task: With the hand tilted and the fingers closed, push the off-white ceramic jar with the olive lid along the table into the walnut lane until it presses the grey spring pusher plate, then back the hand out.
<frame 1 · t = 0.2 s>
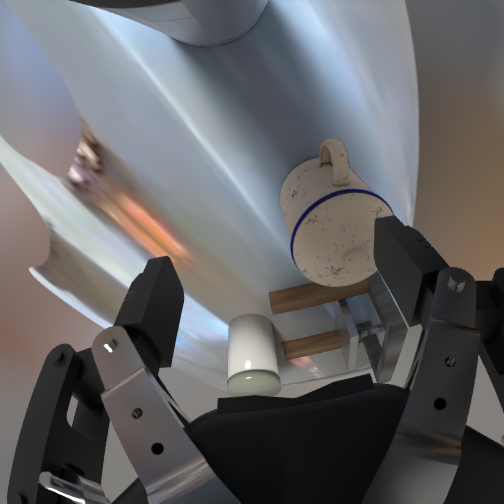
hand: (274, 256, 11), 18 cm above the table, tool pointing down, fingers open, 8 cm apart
pusher: (362, 328, 36), point 4 cm above the table, slide at 0.0 cm
lane: (321, 313, 40), on the table
teacup with lid: (319, 181, 28), on the table
jar: (250, 328, 41), on the table
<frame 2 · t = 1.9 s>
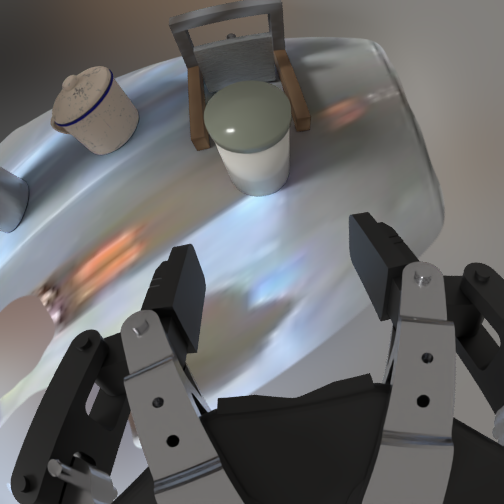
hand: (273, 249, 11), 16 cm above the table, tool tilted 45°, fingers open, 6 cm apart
pusher: (234, 52, 29), point 4 cm above the table, slide at 0.0 cm
lane: (244, 98, 32), on the table
teacup with lid: (105, 132, 34), on the table
jar: (259, 169, 30), on the table
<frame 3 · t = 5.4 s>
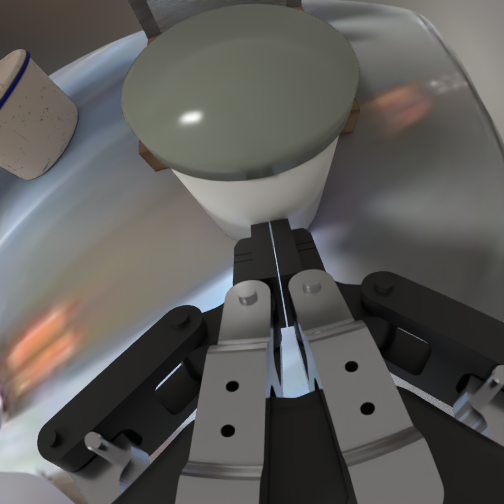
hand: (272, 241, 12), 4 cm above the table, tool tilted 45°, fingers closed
pusher: (221, 7, 15), point 4 cm above the table, slide at 0.0 cm
lane: (238, 78, 18), on the table
teacup with lid: (38, 145, 20), on the table
jar: (263, 193, 16), on the table, touching gripper
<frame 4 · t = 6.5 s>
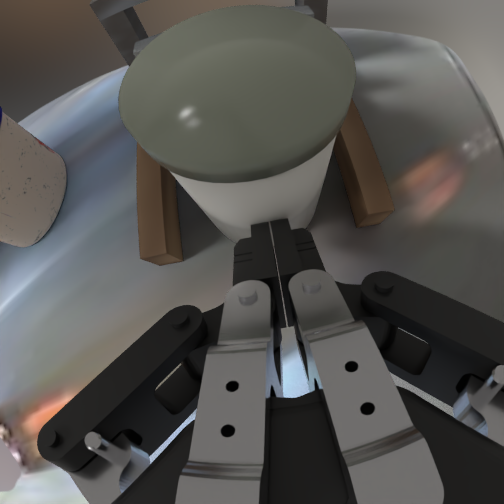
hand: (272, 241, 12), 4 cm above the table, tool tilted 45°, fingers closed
pusher: (228, 49, 14), point 4 cm above the table, slide at 0.0 cm
lane: (250, 144, 17), on the table
teacup with lid: (27, 203, 19), on the table
jar: (261, 194, 16), on the table, touching gripper
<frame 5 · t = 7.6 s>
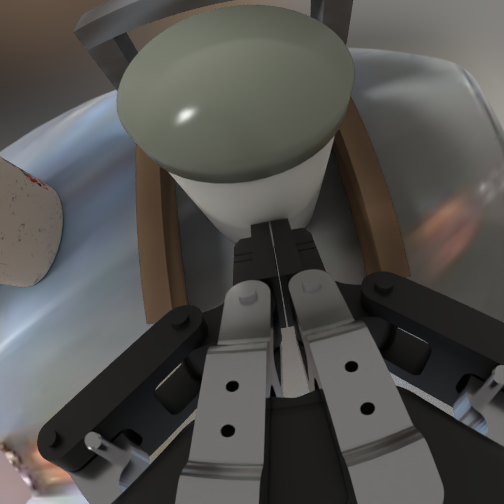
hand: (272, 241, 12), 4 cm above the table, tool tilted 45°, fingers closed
lane: (258, 191, 16), on the table
teacup with lid: (23, 237, 18), on the table
jar: (260, 194, 16), on the table, touching gripper, pusher
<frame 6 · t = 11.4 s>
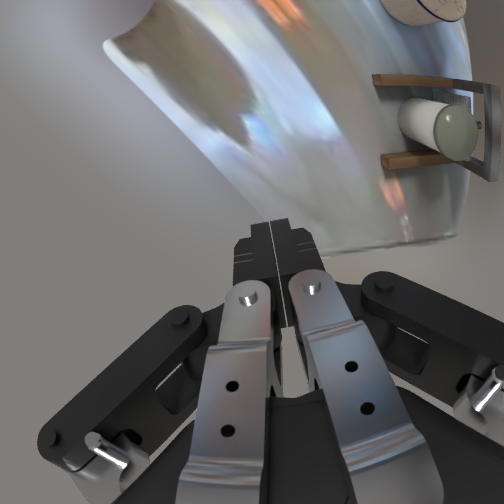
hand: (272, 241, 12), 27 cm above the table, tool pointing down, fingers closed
pusher: (463, 123, 28), point 4 cm above the table, slide at 1.2 cm
lane: (416, 118, 32), on the table
jar: (415, 118, 32), on the table
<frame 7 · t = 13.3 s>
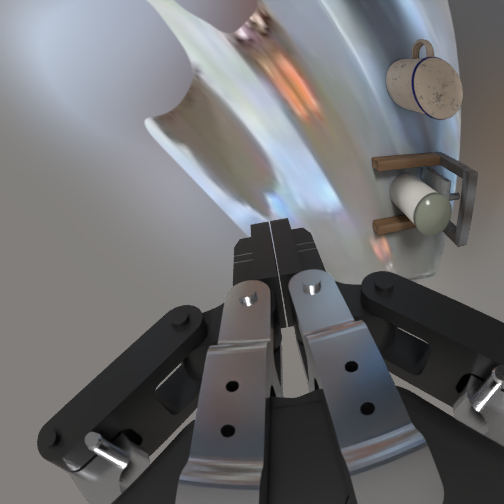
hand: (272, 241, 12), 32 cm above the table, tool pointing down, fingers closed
pusher: (444, 195, 40), point 4 cm above the table, slide at 1.2 cm
lane: (405, 189, 44), on the table
teacup with lid: (406, 75, 33), on the table
jar: (404, 190, 44), on the table
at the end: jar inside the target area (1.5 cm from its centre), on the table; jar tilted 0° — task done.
